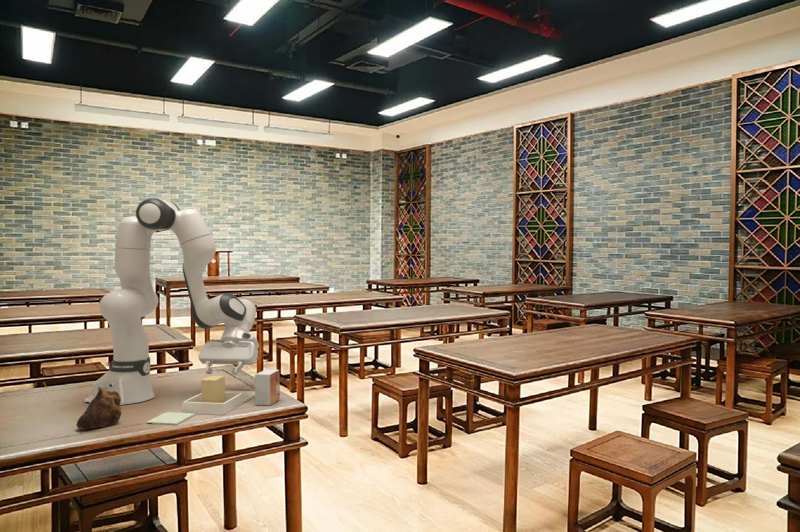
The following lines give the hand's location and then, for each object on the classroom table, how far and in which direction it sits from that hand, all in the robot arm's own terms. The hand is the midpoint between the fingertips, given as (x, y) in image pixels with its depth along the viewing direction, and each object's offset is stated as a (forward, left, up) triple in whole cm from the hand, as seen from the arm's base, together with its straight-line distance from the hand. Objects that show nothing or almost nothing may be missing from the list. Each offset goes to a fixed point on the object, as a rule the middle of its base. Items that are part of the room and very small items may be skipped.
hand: (221, 373), depth 184 cm
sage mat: (-7, -18, -10) cm, 22 cm away
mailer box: (0, +2, -10) cm, 10 cm away
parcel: (0, -5, -10) cm, 11 cm away
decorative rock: (-24, -27, -10) cm, 38 cm away
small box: (+15, +4, -10) cm, 19 cm away
